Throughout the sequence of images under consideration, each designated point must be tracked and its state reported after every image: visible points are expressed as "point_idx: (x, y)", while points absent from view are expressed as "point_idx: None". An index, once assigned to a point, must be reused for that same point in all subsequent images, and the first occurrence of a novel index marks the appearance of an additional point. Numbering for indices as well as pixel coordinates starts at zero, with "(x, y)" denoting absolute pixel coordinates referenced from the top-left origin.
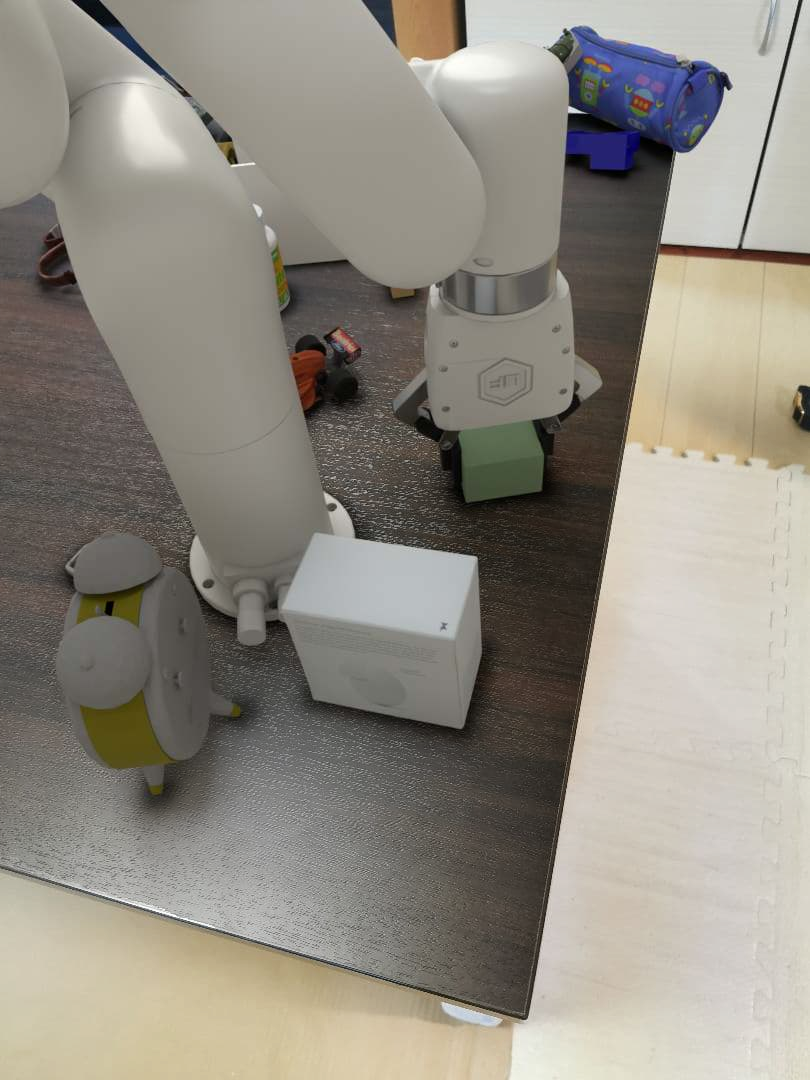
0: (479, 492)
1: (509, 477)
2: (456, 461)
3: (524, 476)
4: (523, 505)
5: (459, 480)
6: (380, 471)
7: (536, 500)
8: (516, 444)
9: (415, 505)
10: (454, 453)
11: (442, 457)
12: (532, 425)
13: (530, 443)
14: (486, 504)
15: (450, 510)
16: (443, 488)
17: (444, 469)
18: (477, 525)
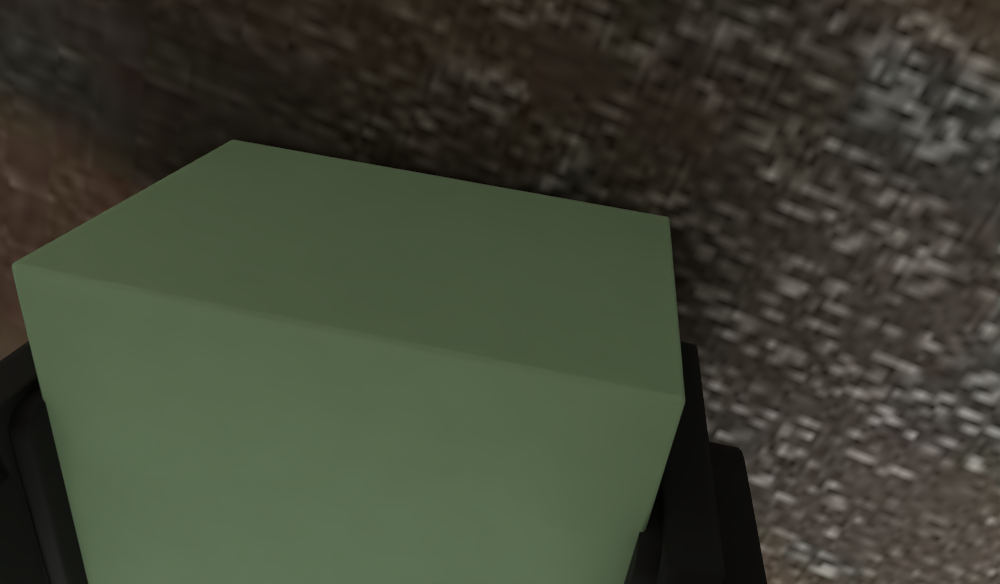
0: (581, 230)
1: (359, 232)
2: (687, 478)
3: (264, 210)
4: (354, 79)
5: None
6: (987, 570)
7: (275, 89)
8: (208, 436)
9: (950, 313)
10: (707, 550)
11: (759, 543)
12: (80, 528)
13: (104, 404)
14: (556, 167)
15: (776, 203)
16: (737, 359)
17: (737, 456)
18: (673, 24)
